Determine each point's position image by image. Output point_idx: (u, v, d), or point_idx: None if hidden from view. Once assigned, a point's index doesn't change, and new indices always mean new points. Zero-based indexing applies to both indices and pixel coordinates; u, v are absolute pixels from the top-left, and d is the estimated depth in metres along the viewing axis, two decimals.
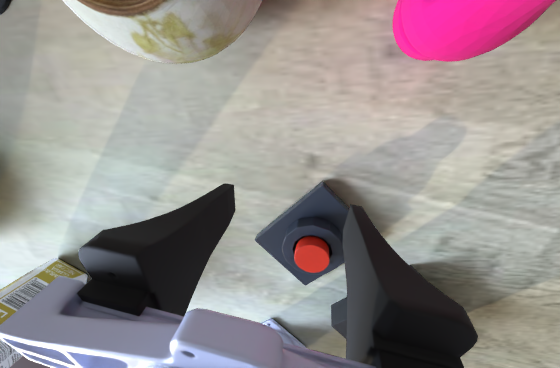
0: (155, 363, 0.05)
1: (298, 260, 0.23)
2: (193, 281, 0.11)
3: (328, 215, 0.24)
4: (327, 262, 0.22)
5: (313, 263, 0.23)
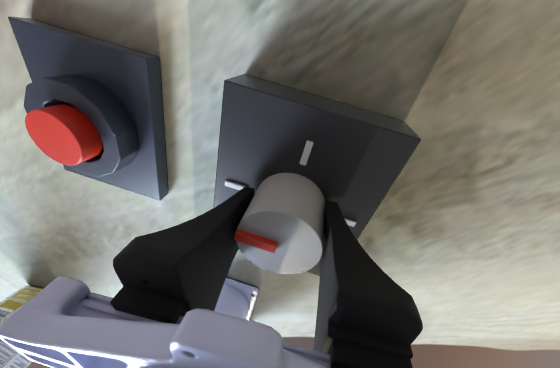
0: (155, 363, 0.05)
1: (49, 153, 0.14)
2: (218, 287, 0.10)
3: (63, 65, 0.14)
4: (67, 130, 0.13)
5: (62, 145, 0.14)
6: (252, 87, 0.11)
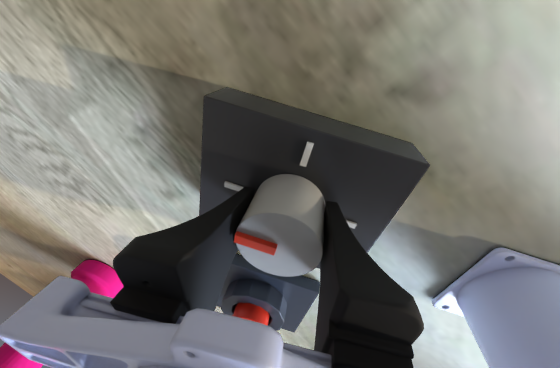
0: (155, 363, 0.05)
1: None
2: (218, 287, 0.10)
3: (223, 294, 0.25)
4: None
5: None
6: None
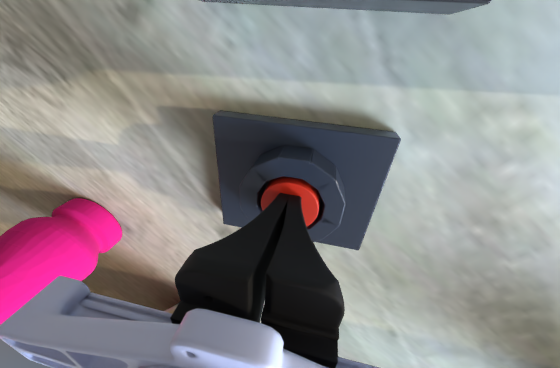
0: (155, 363, 0.05)
1: (307, 220, 0.14)
2: (263, 298, 0.10)
3: None
4: (273, 187, 0.13)
5: None
6: None
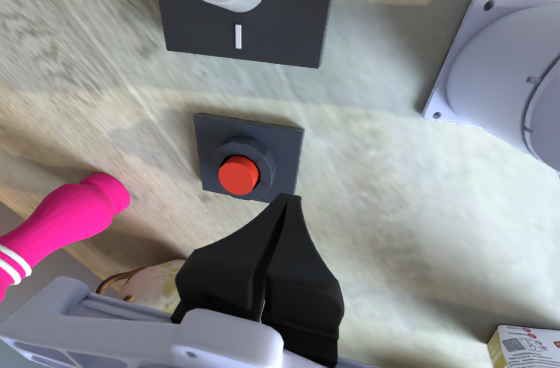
0: (155, 363, 0.05)
1: (248, 188, 0.21)
2: (263, 298, 0.10)
3: None
4: (225, 166, 0.20)
5: (237, 175, 0.21)
6: (164, 28, 0.17)
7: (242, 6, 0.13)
